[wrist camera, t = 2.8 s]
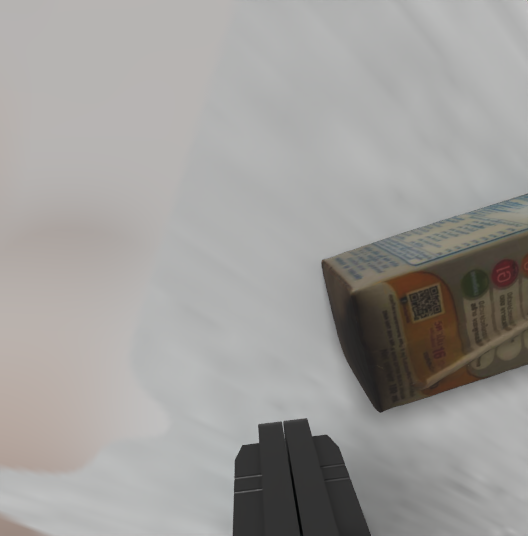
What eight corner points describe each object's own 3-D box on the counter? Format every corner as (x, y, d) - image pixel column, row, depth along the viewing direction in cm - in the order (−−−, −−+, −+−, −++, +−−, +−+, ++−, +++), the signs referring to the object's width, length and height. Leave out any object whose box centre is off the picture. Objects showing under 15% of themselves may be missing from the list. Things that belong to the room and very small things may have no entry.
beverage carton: (605, 279, 23) (741, 317, 17) (341, 361, 24) (376, 428, 18) (601, 165, 21) (753, 160, 15) (311, 258, 22) (339, 291, 15)
